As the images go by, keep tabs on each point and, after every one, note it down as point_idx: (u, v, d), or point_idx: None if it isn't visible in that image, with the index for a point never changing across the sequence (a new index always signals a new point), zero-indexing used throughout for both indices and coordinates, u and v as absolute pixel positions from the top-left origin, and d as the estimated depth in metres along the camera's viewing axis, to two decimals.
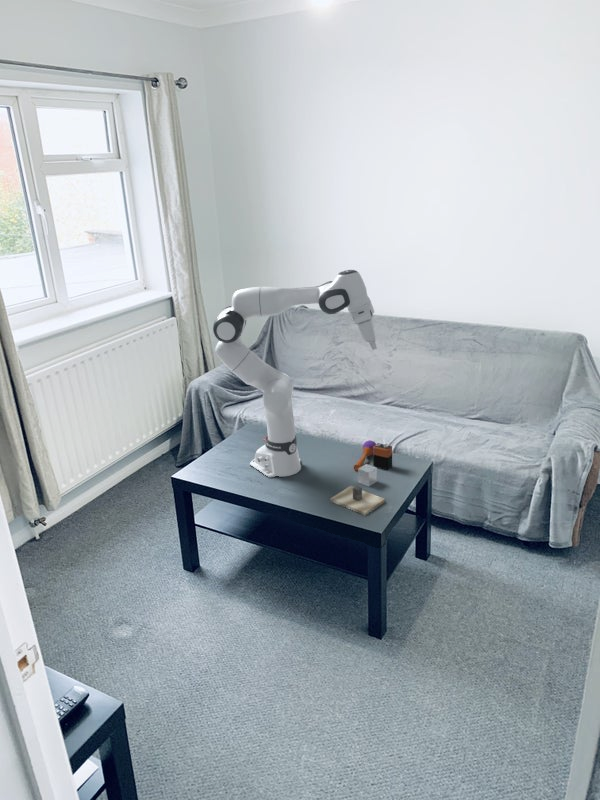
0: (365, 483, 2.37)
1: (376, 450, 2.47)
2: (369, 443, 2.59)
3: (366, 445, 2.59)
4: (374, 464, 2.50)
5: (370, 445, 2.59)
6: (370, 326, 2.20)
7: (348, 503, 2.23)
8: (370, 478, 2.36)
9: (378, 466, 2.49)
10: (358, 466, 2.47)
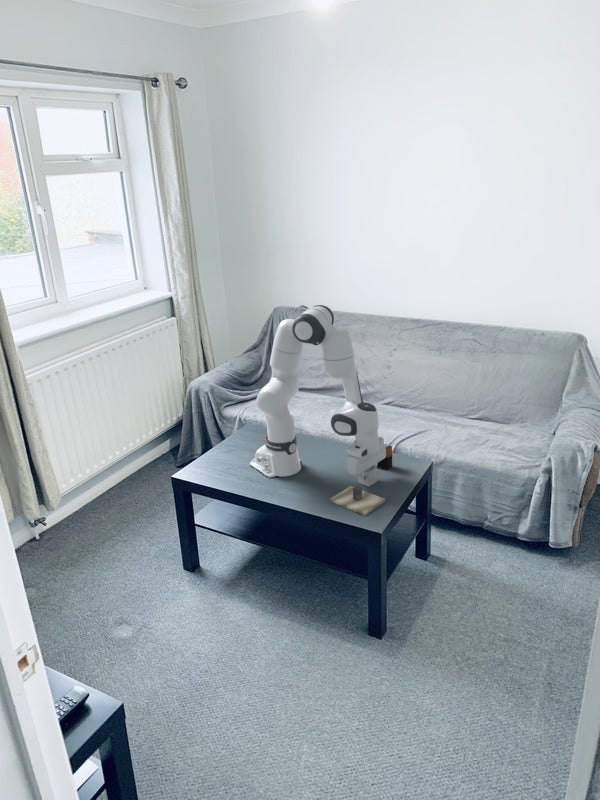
0: (365, 483, 2.37)
1: None
2: None
3: None
4: None
5: None
6: (355, 464, 2.28)
7: (348, 503, 2.23)
8: (370, 478, 2.36)
9: (378, 466, 2.49)
10: None
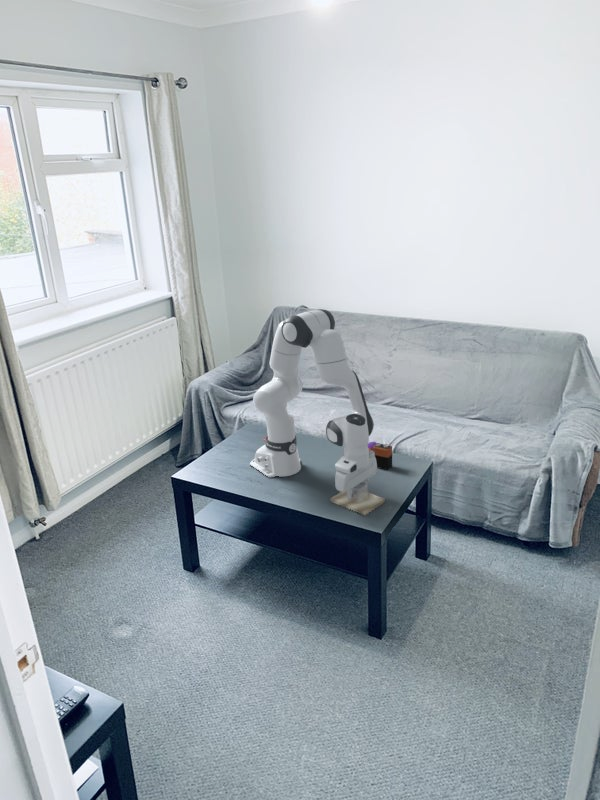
0: (355, 500, 2.23)
1: (376, 450, 2.47)
2: (372, 444, 2.58)
3: (368, 446, 2.58)
4: None
5: (372, 446, 2.57)
6: (343, 480, 2.14)
7: (348, 503, 2.23)
8: (360, 495, 2.22)
9: (378, 466, 2.49)
10: None
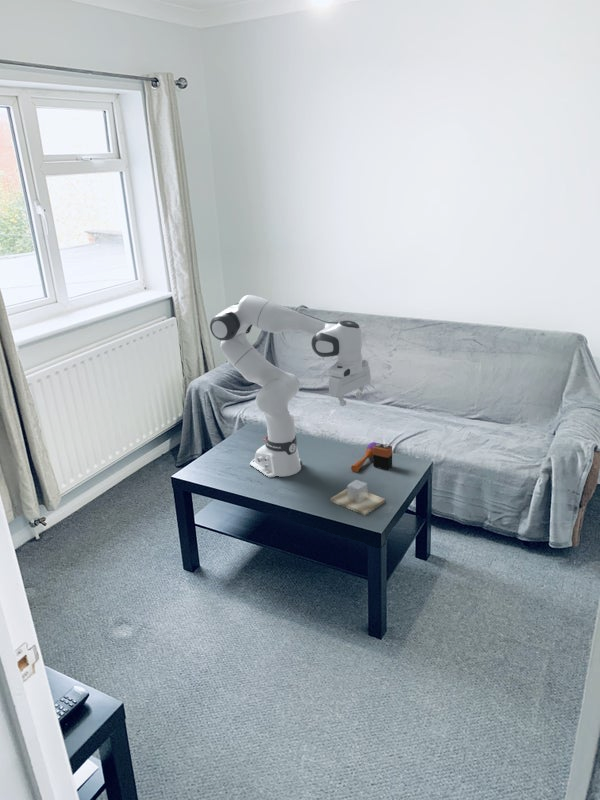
0: (355, 500, 2.23)
1: (376, 450, 2.47)
2: (372, 445, 2.57)
3: (369, 447, 2.58)
4: (374, 464, 2.50)
5: None
6: (337, 384, 2.16)
7: (348, 503, 2.23)
8: (360, 495, 2.22)
9: (378, 466, 2.49)
10: (355, 467, 2.46)
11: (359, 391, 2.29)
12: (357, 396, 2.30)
